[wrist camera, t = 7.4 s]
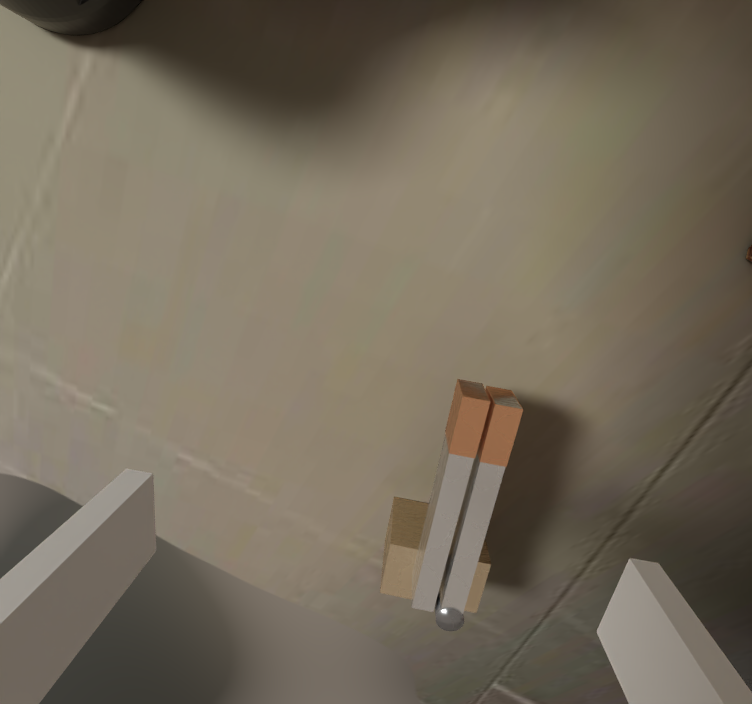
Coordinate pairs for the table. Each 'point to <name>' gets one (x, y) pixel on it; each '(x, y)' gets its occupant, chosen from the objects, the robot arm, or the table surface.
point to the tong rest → (438, 512)
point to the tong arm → (477, 506)
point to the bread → (749, 253)
